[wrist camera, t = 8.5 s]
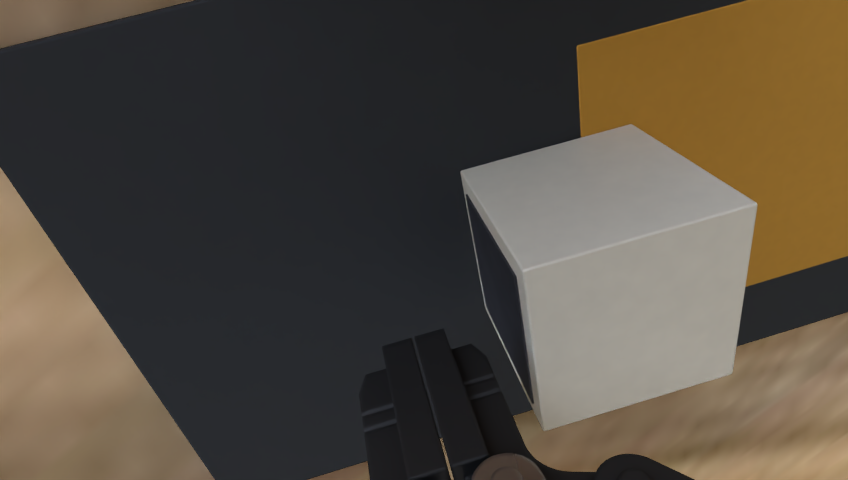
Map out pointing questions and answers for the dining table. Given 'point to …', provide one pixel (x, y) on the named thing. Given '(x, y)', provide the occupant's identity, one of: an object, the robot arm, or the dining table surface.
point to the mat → (389, 179)
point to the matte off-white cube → (609, 270)
